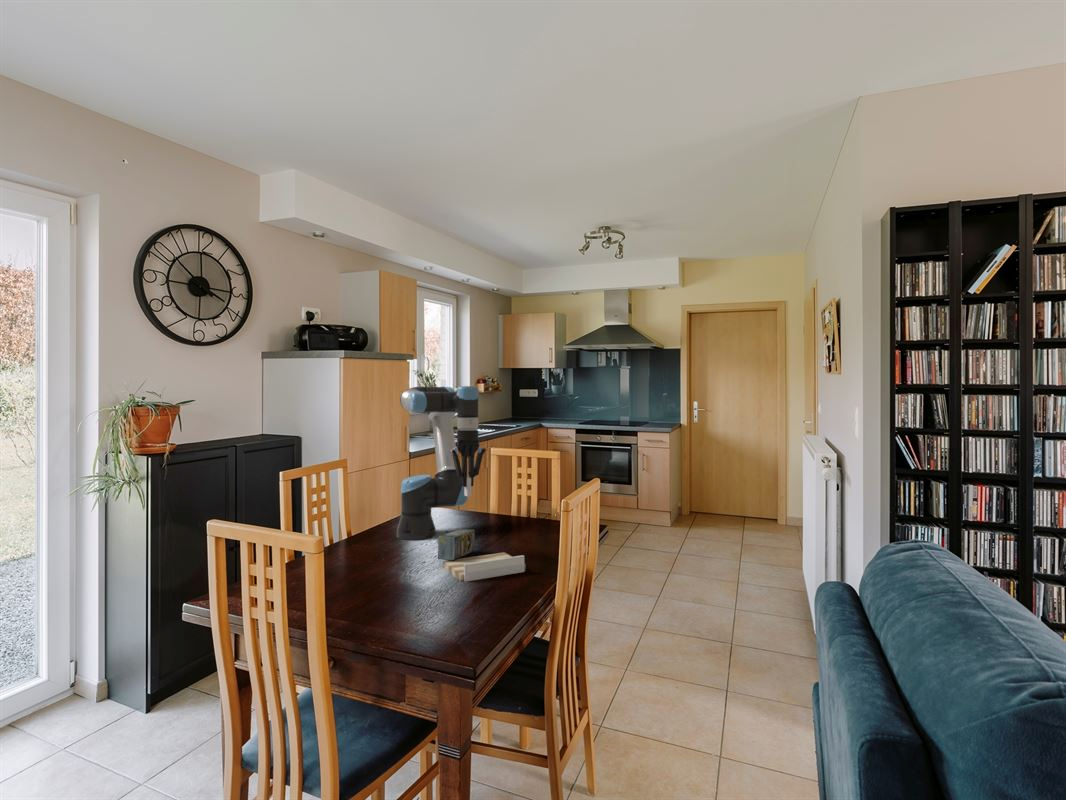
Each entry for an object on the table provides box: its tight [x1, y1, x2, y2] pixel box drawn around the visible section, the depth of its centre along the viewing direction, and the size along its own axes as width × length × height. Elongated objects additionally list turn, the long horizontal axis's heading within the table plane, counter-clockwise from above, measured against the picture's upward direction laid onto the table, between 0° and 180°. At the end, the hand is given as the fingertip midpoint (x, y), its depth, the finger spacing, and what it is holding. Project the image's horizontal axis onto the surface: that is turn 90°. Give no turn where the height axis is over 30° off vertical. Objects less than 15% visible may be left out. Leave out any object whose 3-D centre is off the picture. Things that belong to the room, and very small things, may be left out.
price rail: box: [464, 555, 525, 583], centre depth 170 cm, size 1×20×5 cm, turn 119°
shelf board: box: [442, 552, 527, 582], centre depth 177 cm, size 16×22×2 cm
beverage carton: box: [437, 528, 476, 561], centre depth 188 cm, size 8×19×7 cm
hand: (467, 495), depth 195 cm, fingers closed
